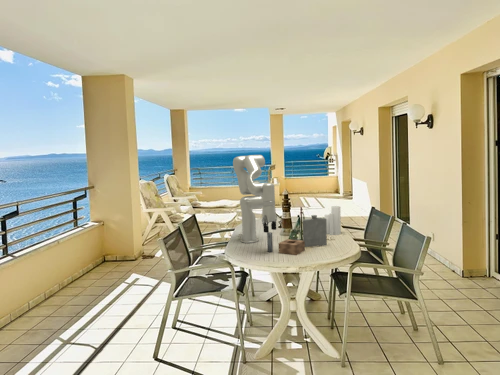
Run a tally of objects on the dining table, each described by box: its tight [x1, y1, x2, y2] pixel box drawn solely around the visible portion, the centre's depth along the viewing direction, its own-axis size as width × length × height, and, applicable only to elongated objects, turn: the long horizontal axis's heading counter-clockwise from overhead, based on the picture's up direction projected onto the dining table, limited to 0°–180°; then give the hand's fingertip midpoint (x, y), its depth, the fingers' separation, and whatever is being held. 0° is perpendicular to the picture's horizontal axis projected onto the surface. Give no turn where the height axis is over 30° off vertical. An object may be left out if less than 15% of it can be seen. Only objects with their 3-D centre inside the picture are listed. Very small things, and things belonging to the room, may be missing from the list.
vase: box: [324, 205, 342, 236], centre depth 289 cm, size 11×7×20 cm, turn 90°
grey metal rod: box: [266, 231, 274, 253], centre depth 245 cm, size 3×3×12 cm
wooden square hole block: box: [278, 238, 306, 256], centre depth 244 cm, size 12×12×6 cm
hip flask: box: [302, 214, 328, 248], centre depth 257 cm, size 16×4×20 cm, turn 100°
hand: (270, 230), depth 244 cm, fingers open, 9 cm apart
